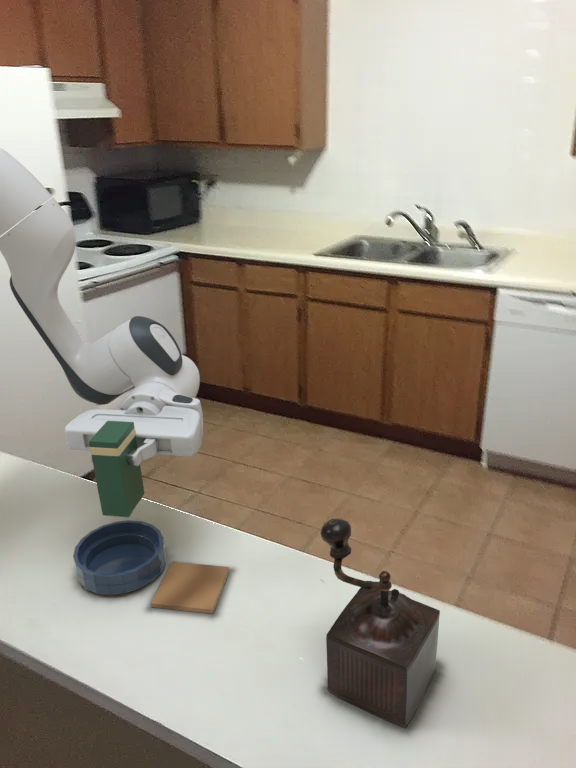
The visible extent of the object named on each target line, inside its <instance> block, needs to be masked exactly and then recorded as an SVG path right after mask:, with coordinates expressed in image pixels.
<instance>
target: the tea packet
mask: <svg viewBox="0 0 576 768" xmlns="http://www.w3.org/2000/svg"><path fill="white" fill-rule="evenodd" d="M89 445H90V447H89V448H90V451H89V453H90V454H91V456H92V461H93V463H92V465H93V471H94V477H95V482H96V487H97V492H98V498H99V504H100V509H101V515H102V516H106V517H119V518H130V516H131V515H132V514H133V512H134V511H135V509H136V508H137V505H138V504H139V503H140V501H141V500H142V498H143V497H144V495H145V487H144V480H143V475H142V474H143V473H142V467H141V463H140V464H139V466H132V465H128V463H127V462H128V461H127V454H128V453H129V451H130V450H131V449H138V447H137V441H136V431H135V427H134V422H123V421H107V422H106V423H105V424H104V425H103V426H102V427H101V428H100V429H99V431H98V432H97V433H96V434H95V435H94V436H93V437H92V438H91V439H90V441H89Z"/></svg>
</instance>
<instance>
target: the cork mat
mask: <svg viewBox="0 0 576 768" xmlns="http://www.w3.org/2000/svg"><path fill="white" fill-rule="evenodd" d="M229 573H230V567H229V566H224V565H223V566H222V565H213V564H202V563H201V564H200V563H190V562H179V561H171V563H170V565H169V567H168V569H167V570H166V572H165V575H164V577H163V579H162V581H161V582H160V585H159V586H158V588H157V590H156V592H155V594H154V596H153V598H152V600H151V602H150V607H151V608H154V609H164V610H174V611H183V612H184V611H185V612H193V613H201V614H202V613H203V614H211V615H213V614H214V612H215V609H216V607H217V604H218V601H219V600H220V597H221V594H222V592H223V588H224V586H225V583H226V580H227V579H228V575H229Z"/></svg>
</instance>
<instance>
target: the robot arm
mask: <svg viewBox="0 0 576 768" xmlns="http://www.w3.org/2000/svg"><path fill="white" fill-rule="evenodd" d="M76 242H77V236H76V229H75V226H74V224H73V222H72V220H71V219H70V217H69V216H68V213H67V212H66V211H65V210H64V208H63V207H62V205H60V204H59V202H58V201H57V200H56V199H55V198H54V197H53V195H52V194H51V193H50V192H49V191H48V189H47V188H46V187H45V186H44V185H43V184H42V183H41V182H40V181H39V180H38V179H37V177H36V176H35V175H34V174H33V173H31V172H30V170H29V169H28V168H26V166H24V165H23V164H22V163H21V162H20V161H19V160H17V158H15V157H14V156H13V155H11V154H10V153H9V152H8V151H6V150H5V149H3V148H1V147H0V253H1V255H2V256H3V258H4V260H5V262H6V264H7V266H8V267H7V268H8V270H9V274H10V277H9V287H10V290H11V292H12V295H13V296H14V298H15V300H16V302H17V303H18V305H19V307H20V309H22V311H23V312H24V314H25V316H26V317H27V318H28V320H29V321H30V323H31V324H32V326H33V327H34V328H35V330H36V331H37V333H38V334H39V336H40V337H41V339H42V341H44V343H45V345H46V346H47V347H48V349H49V350H50V352H51V353H52V354H53V356H54V358H55V360H56V361H57V362H58V363H59V365H60V367H61V369H62V371H63V372H64V375H65V376H66V379H67V382H69V385H70V387H71V389H72V390H73V391H74V393H75V394H76V395H77V396H79V397H80V398H81V399H83V400H85V401H87V402H89V403H93V404H96V405H102V406H103V405H104V406H105V405H108V404H110V403H112V402H113V401H115V400H116V399H118V398H119V397H120V396H122V395H123V394H124V393H126V391H128V390H130V389H131V388H133V387H134V389H133V391H132V392H131V393H130V394H129V395H128V396H127V397H126V399H124V400H123V401H122V404H121V405H120V408H119V409H111V408H90V409H88V410H85V411H83V412H82V413H80V414H79V415H78V416H76V417H74V418H73V419H72V420H70V422H68V423H67V424H66V425H65V427H64V431H63V432H64V438H65V442H66V445H67V447H68V448H69V449H70V450H73V451H87V452H90V448H89V447H90V445H89V441H90V439H91V438H92V437H93V436H94V435H95V434H96V433H97V432H98V431H99V429H100V428H101V427H102V426H103V425H104V424H105V423H106V422H107V421H123V422H134V427H135V431H136V441H137V447H138V449H131V450H130V451H129V453H128V454H127V461H128V462H127V463H128V465H132V466H139V464H140V465H141V463H142V462H143V461H146V460H148V459H151V458H153V457H155V456H168V457H179V458H180V457H183V458H189V457H190V458H191V457H193V456H195V455H197V454H198V453H199V451H200V449H201V447H202V444H203V437H204V431H205V430H204V428H205V427H204V414H203V407H202V403H201V400H200V399H199V398H196V397H197V395H198V393H199V390H200V385H201V384H200V383H201V375H200V370H199V368H198V366H197V365H196V363H195V362H194V361H193V360H192V359H191V358H190V357H188V356H186V355H183V354H182V351H181V348H180V347H179V344H178V343H177V341H176V339H175V337H174V336H173V335H172V333H171V332H170V331H169V329H168V328H166V326H164V325H163V324H161V323H160V322H158V321H156V320H154V319H152V318H149V317H146V316H141V315H136V316H133V317H132V318H130V319H128V320H126V321H124V322H123V323H121V324H120V325H118V326H117V327H115V328H113V329H112V330H111V331H109V332H108V333H106V334H104V336H102V337H100V338H99V339H97V340H96V341H94V342H89V341H86V340H85V339H84V338H83V337H82V335H81V334H80V332H79V331H78V329H77V327H76V326H75V325H74V323H73V322H72V320H71V318H70V317H69V315H68V313H67V312H66V311H65V310H64V308H63V306H62V304H61V302H60V300H59V296H58V289H59V286H60V282H61V280H62V277H64V274H65V272H66V270H67V269H68V267H69V266H70V263H71V261H72V260H73V257H74V254H75V251H76V244H77V243H76ZM89 456H90V462H91V463H92V464H93V461H92V456H91V453H90V454H89Z"/></svg>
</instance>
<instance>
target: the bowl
mask: <svg viewBox="0 0 576 768" xmlns="http://www.w3.org/2000/svg"><path fill="white" fill-rule="evenodd" d="M164 537H165V536H163V533H162V531H161V530H160V529H159V528H158V527H156V526H155V525H154V524H151V523H149V522H147V521H143V520H131V519H125V520H117V521H113V522H109V523H106V524H103V525H101V526H99V527H96V528H95V529H93V530H91V531H89V532H88V533H87V534H85V535H84V536H83V537H82V538H80V540H79V542H78V543H77V544H76V546H75V547H74V551H73V555H72V558H73V562H74V567H75V572H76V577H77V579H78V583H80V584H81V585H82V587H83V588H84V589H85V590H87V591H89V592H92V593H95V594H97V595H98V594H99V595H109V596H112V595H121V594H127V593H130V592H133V591H136V590H139V589H142V588H143V587H145V586H146V585H149V584H150V583H152V582H153V581H154V580H155V579H156V578H157V577H159V575H160V574H161V573H162V571H163V569H164V568H165V566H166V563H167V561H166V560H167V552H166V546H165V538H164Z"/></svg>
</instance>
